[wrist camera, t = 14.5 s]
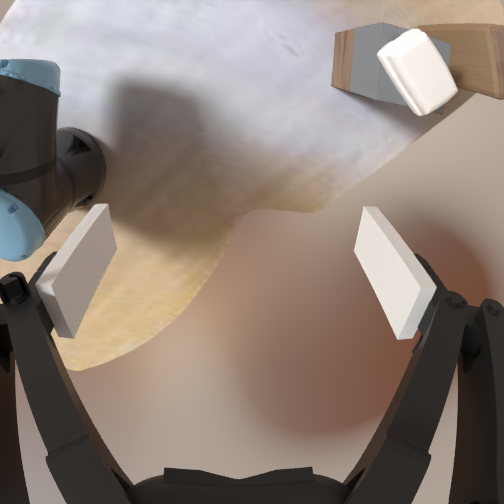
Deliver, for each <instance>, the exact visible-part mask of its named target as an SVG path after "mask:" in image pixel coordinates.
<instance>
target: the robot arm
mask: <svg viewBox="0 0 504 504" xmlns="http://www.w3.org/2000/svg"><path fill="white" fill-rule="evenodd" d="M59 88H60V68H59V67H58V65H57V64H56V63H54V62H52V61H46V60H34V59H9V60H7V59H4V60H0V258H2V259H4V260H8V261H14V262H16V261H22V260H25V259H27V258H28V257H30V256H31V255H32V254H33V253H34V252H35V251H36V250H37V249H38V248H40V247H41V246H42V245H43V243H44V241H45V240H46V239H47V238H48V236H49V235H50V234H51V233H52V231H53V230H54V229H55V228H56V227H57V225H58V224H59V223H60V222H61V221H62V219H63V218H64V217H65V216H66V215H67V213H70V212H73V211H75V210H78V209H81V208H83V207H85V206H86V205H88V204H89V203H90V202H91V201H92V200H93V199H94V198H95V197H96V196H97V195H98V193H99V192H100V190H101V189H102V186H103V184H104V180H105V173H106V168H105V161H104V157H103V154H102V152H101V150H100V148H99V146H98V144H97V143H96V142H95V141H94V139H93V138H92V137H90V136H89V135H88V134H87V133H85V132H83V131H81V130H79V129H76V128H69V127H67V128H60V129H57V118H58V101H59V97H60V96H61V93H60V91H59ZM116 250H117V247H116V242H115V238H114V233H113V227H112V222H111V217H110V211H109V205H108V204H95V205H94V206H93V207H92V208H91V210H90V211H89V212H88V213H87V215H86V216H85V217H84V218H83V220H82V221H81V222H80V223H79V225H78V226H77V227H76V228H75V230H74V231H73V232H72V234H71V235H70V236H69V238H68V239H67V240H66V241H65V243H64V244H63V246H62V247H61V248H60V250H59V251H58V252H53V253H52V254H50V255H49V256H48V257H47V258H46V259H45V260H44V261H43V263H42V264H41V266H40V267H39V268H38V270H37V272H36V273H35V274H34V275H33V277H32V278H31V280H30V281H29V283H28V284H27V282H26V279H25V277H24V275H23V273H21V272H12V273H9V274H7V275H5V276H4V277H2V278H1V279H0V298H1V300H2V302H3V304H0V504H30V502H29V497H28V492H27V487H26V482H25V477H24V471H23V465H22V459H21V452H20V444H19V435H18V425H17V413H16V394H15V359H16V363H17V366H18V370H19V373H20V377H21V380H22V384H23V386H24V390H25V393H26V396H27V399H28V402H29V405H30V408H31V411H32V414H33V416H34V419H35V422H36V424H37V427H38V430H39V432H40V434H41V437H42V439H43V442H44V444H45V446H46V449H47V451H48V456H46V462H47V465H48V468H49V470H50V472H51V474H52V476H53V478H54V480H55V482H56V484H57V486H58V488H59V490H60V492H61V494H62V496H63V498H64V500H65V501H66V503H67V504H411V503H412V501H413V499H414V497H415V495H416V493H417V491H418V489H419V487H420V484H421V482H422V480H423V478H424V475H425V473H426V471H427V469H428V466H429V463H430V460H431V455H430V454H429V453H428V450H429V447H430V445H431V442H432V439H433V437H434V434H435V432H436V429H437V426H438V423H439V421H440V418H441V415H442V412H443V409H444V405H445V402H446V399H447V396H448V393H449V389H450V386H451V382H452V379H453V375H454V371H455V368H456V364H457V362H458V415H457V435H456V447H455V457H454V467H453V475H452V482H451V489H450V495H449V503H448V504H504V307H503V306H502V305H501V304H500V303H498V302H497V301H495V300H493V299H484V301H483V302H482V304H481V305H480V307H475V306H470V305H468V304H467V301H466V300H465V299H464V298H463V297H462V296H461V295H460V294H458V293H456V292H453V291H448V290H447V289H446V288H445V286H444V285H443V283H442V282H441V280H440V279H439V277H438V276H437V275H436V274H435V272H434V271H433V269H432V268H431V266H430V265H429V264H428V263H427V261H426V260H425V259H423V258H422V257H421V256H420V255H419V254H413V253H412V251H411V250H410V249H409V248H408V246H407V245H406V243H405V242H404V241H403V239H402V238H401V237H400V236H399V234H398V233H397V232H396V230H395V229H394V228H393V227H392V225H391V224H390V223H389V222H388V220H387V219H386V218H385V217H384V215H383V214H382V213H381V212H380V210H379V209H378V208H377V207H369V206H364V208H363V213H362V217H361V222H360V227H359V231H358V236H357V240H356V244H355V248H354V252H355V254H356V256H357V258H358V259H359V261H360V263H361V265H362V267H363V269H364V271H365V273H366V275H367V277H368V279H369V281H370V283H371V285H372V287H373V289H374V291H375V293H376V295H377V297H378V299H379V301H380V303H381V305H382V308H383V310H384V312H385V314H386V316H387V318H388V320H389V322H390V325H391V327H392V329H393V331H394V333H395V335H396V338H397V340H400V339H408V338H413V336H414V334H415V332H416V330H417V328H419V330H420V333H421V336H420V338H419V340H418V342H417V344H416V345H415V347H414V349H413V351H412V353H413V355H412V357H411V360H410V362H409V364H408V367H407V369H406V371H405V373H404V376H403V378H402V380H401V382H400V384H399V387H398V389H397V391H396V393H395V395H394V397H393V399H392V401H391V403H390V405H389V407H388V409H387V411H386V413H385V415H384V417H383V419H382V421H381V423H380V424H379V426H378V428H377V430H376V432H375V434H374V435H373V437H372V439H371V441H370V442H369V444H368V446H367V448H366V449H365V451H364V453H363V454H362V456H361V458H360V459H359V461H358V463H357V464H356V466H355V467H354V469H353V470H352V471H351V473H350V474H349V475H348V477H347V478H346V479H345V481H344V482H343V483H341V482H339V481H336V480H334V479H332V478H329V477H326V476H321V475H317V474H313V470H312V467H306V468H305V467H304V468H294V469H280V470H274V471H270V472H267V473H263V474H259V475H256V476H252V477H248V478H244V479H233V478H229V477H225V476H220V475H216V474H213V473H209V472H205V471H201V470H189V469H175V468H164V475H159V476H155V477H151V478H149V479H146V480H143V481H141V482H139V483H137V484H136V485H133V483H132V482H131V481H130V480H129V478H128V477H127V476H126V474H125V473H124V472H123V471H122V469H121V468H120V466H119V465H118V464H117V462H116V460H115V459H114V457H113V456H112V454H111V453H110V451H109V449H108V448H107V446H106V445H105V443H104V441H103V440H102V438H101V436H100V434H99V433H98V431H97V429H96V428H95V426H94V424H93V422H92V420H91V419H90V417H89V415H88V413H87V411H86V409H85V407H84V405H83V404H82V402H81V400H80V398H79V396H78V394H77V392H76V390H75V388H74V386H73V383H72V381H71V379H70V377H69V375H68V373H67V371H66V368H65V366H64V364H63V361H62V359H61V357H60V354H59V352H58V350H57V347H56V345H55V342H54V340H53V338H52V336H51V332H52V330H53V328H55V330H56V332H57V334H58V336H59V337H65V338H73V339H74V337H75V335H76V332H77V330H78V328H79V326H80V323H81V321H82V319H83V317H84V314H85V312H86V310H87V308H88V306H89V304H90V301H91V299H92V297H93V295H94V293H95V291H96V289H97V287H98V285H99V283H100V281H101V279H102V277H103V275H104V273H105V271H106V269H107V267H108V265H109V263H110V261H111V259H112V257H113V255H114V253H115V251H116Z"/></svg>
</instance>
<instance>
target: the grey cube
mask: <svg viewBox="0 0 504 504" xmlns="http://www.w3.org/2000/svg"><path fill="white" fill-rule="evenodd" d="M406 31H409V30H408V29H405V28H401V27H398V26H394V25H391V24H387V23H383V22H382V23H377V24H372V25H367V26H363V27H358V28H355V29H354V44H353V57H352V69H351V80H350V90H349V91H350V92H353V93H356V94H360V95H363V96H366V97H369V98H372V99H375V100H379V101H384V102H389V103H394V104H399V105H404V106H408V104H407V103H406V101H405V100H404V99H403V97H402V96H401V94H400V93H399V91H398V90H397V88H396V86H395V85H394V83H393V82H392V80H391V79H390V77H389V75H388V74H387V72H386V70H385V69H384V67H383V65H382V63H381V62H380V60H379V58H378V56H377V53H378V52H379V50H381V49H382V48H383V47H384V46H385V45H386V44H388V43H389V42H390V41H394V40H395V39H396V38H398V37H399V36H400V35H401V34H403V33H404V32H406ZM428 37H429V38H430V40H431V41H432V43H433V44H434V45H435V47H436V48H437V50H438V52H439V53H440V55H441V56H442V58H443V60H444V62H445V63H446V65H447V67H448V69H449V59H450V47H451V44H449V43H446V42H443V41H441V40H438V39H435V38H432V37H430V36H428ZM396 77H397V76H396ZM443 108H444V104H443V105H442V106H441V107H439V108H438V109H436V110H434V111H433V112H434V113H438V114H441V115H442V114H443Z"/></svg>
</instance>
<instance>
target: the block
mask: <svg viewBox="0 0 504 504" xmlns="http://www.w3.org/2000/svg"><path fill="white" fill-rule="evenodd" d="M415 29H420V30H421V31H422V32H425V33H426V34H427V36H430V37H432V38H435V39H438V40H441V41H443V42H446V43H449V44H451V47H450V59H449V71H450V73H451V75H452V77H453V80H454V82H455V84H456V87H458V88H462V89H466V90H470V91H473V92H477V93H481V94H484V95H487V96H490V97H493V98H496V99H500V100H502V99H504V26H503V25H495V24H437V25H423V26H418V27H416V28H415Z"/></svg>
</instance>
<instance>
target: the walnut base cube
mask: <svg viewBox="0 0 504 504" xmlns="http://www.w3.org/2000/svg"><path fill="white" fill-rule="evenodd" d="M353 44H354V29H351V30H346V31H342V32H338V33H335V46H334V60H333V72H332V84H331V86H333V87H337V88H340V89H343V90H347V91H349V90H350V80H351V69H352V57H353Z"/></svg>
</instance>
